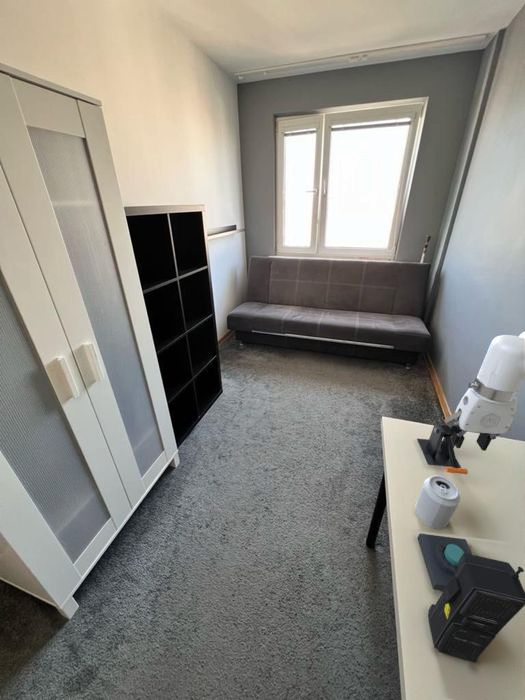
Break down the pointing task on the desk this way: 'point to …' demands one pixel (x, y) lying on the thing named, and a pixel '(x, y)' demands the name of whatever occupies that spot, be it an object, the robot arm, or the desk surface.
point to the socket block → (439, 558)
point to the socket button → (453, 554)
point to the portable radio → (475, 606)
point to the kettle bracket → (436, 447)
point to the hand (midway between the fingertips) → (468, 444)
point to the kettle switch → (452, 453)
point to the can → (437, 502)
